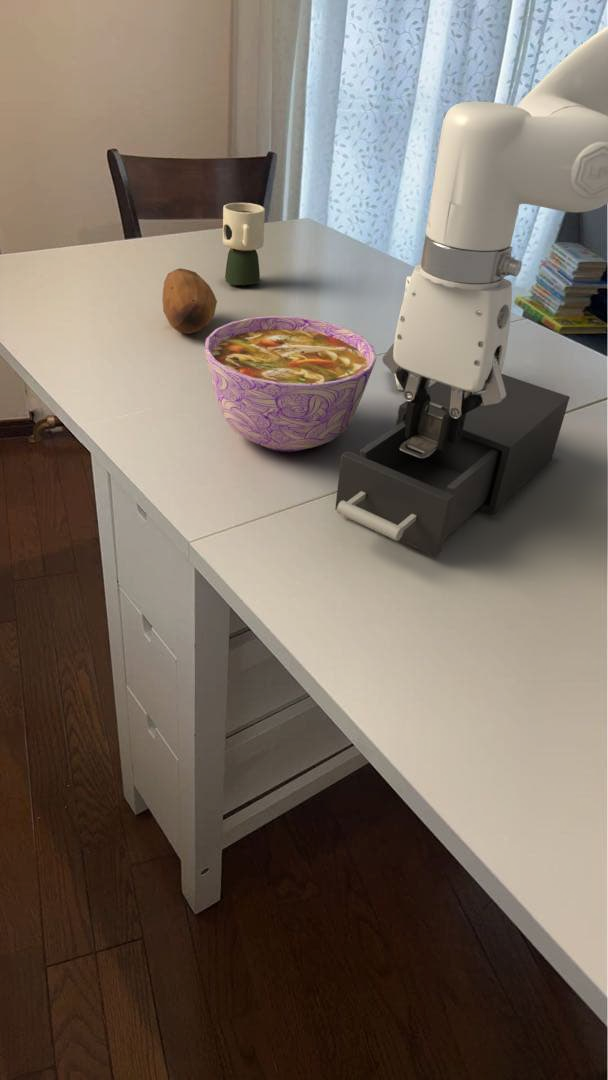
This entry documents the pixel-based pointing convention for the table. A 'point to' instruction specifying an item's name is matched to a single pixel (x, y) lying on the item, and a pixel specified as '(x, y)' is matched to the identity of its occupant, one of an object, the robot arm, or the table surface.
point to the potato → (187, 301)
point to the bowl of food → (288, 379)
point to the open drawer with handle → (415, 488)
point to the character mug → (243, 241)
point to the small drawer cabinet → (509, 431)
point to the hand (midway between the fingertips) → (430, 438)
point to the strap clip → (425, 433)
